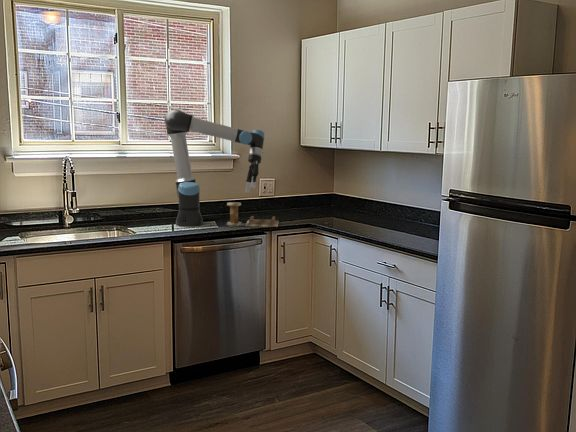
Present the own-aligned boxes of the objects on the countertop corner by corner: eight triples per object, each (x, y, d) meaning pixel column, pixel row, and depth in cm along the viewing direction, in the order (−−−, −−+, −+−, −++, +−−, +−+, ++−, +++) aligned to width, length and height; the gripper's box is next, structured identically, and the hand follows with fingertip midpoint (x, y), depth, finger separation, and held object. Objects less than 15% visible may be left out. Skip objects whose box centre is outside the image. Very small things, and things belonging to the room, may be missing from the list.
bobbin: (230, 226, 333) (230, 204, 331) (224, 224, 340) (224, 202, 338) (243, 225, 337) (243, 203, 335) (237, 223, 344) (237, 201, 342)
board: (245, 226, 333) (245, 219, 333) (247, 222, 347) (247, 215, 347) (277, 226, 333) (277, 220, 332) (278, 222, 347) (278, 216, 346)
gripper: (266, 151, 341) (261, 186, 337) (256, 162, 365) (251, 195, 360) (254, 148, 339) (248, 184, 335) (244, 160, 363) (239, 193, 358)
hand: (250, 190), depth 347 cm, fingers open, 13 cm apart
